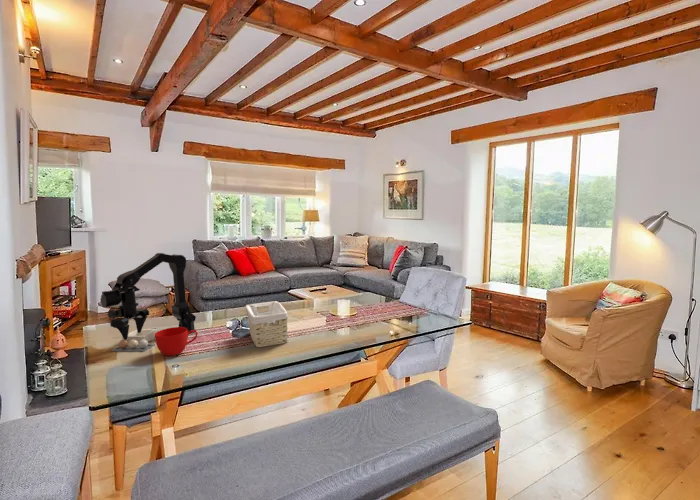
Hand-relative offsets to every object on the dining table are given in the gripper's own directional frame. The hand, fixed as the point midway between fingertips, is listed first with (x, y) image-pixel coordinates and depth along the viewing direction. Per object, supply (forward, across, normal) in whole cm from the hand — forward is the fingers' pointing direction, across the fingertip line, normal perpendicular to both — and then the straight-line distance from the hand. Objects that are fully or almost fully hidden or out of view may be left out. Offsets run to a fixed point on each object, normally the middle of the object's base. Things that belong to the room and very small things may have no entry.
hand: (132, 336), depth 185 cm
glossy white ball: (+6, 0, +5) cm, 7 cm away
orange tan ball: (+6, 0, -5) cm, 7 cm away
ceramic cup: (+6, +4, +24) cm, 25 cm away
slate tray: (+6, 0, 0) cm, 6 cm away
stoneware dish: (+6, -11, -4) cm, 13 cm away
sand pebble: (+6, 0, 0) cm, 6 cm away
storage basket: (+6, -15, +58) cm, 60 cm away
